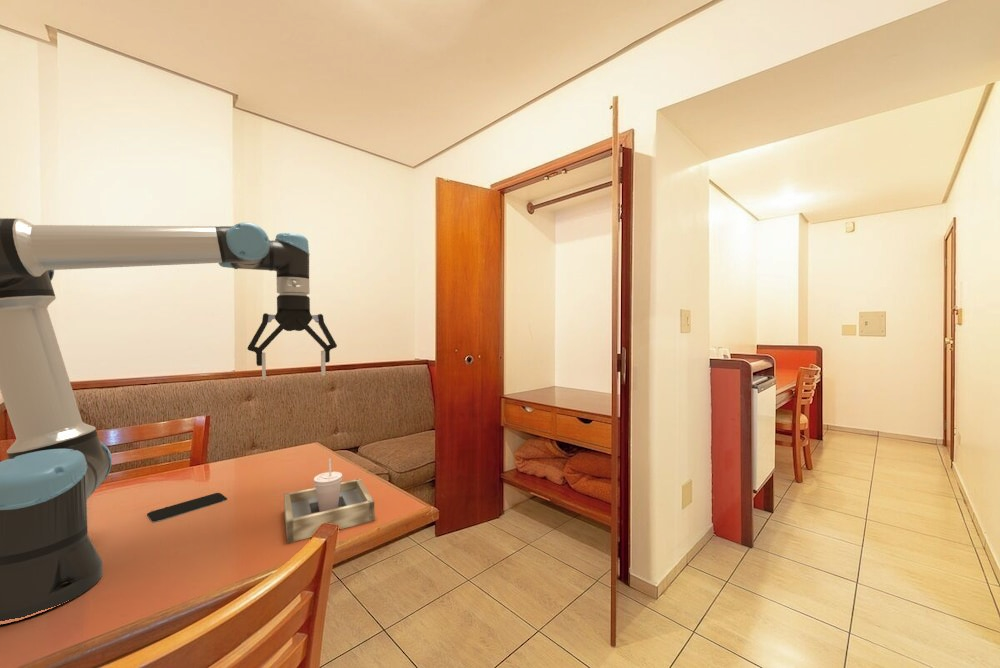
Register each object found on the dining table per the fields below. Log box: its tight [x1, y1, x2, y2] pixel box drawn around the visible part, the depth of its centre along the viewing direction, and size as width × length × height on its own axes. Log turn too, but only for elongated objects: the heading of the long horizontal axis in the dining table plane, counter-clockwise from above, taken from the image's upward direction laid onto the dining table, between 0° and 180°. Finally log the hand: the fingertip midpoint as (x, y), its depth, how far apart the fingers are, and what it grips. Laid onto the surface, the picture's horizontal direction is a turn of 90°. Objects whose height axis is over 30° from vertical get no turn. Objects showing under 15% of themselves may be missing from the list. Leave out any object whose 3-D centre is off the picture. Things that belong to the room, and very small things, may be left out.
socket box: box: [283, 478, 375, 544], centre depth 92 cm, size 18×16×4 cm
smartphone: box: [146, 492, 228, 524], centre depth 97 cm, size 7×1×15 cm
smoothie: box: [312, 458, 343, 512], centre depth 92 cm, size 6×6×14 cm
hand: (294, 376), depth 99 cm, fingers open, 13 cm apart
